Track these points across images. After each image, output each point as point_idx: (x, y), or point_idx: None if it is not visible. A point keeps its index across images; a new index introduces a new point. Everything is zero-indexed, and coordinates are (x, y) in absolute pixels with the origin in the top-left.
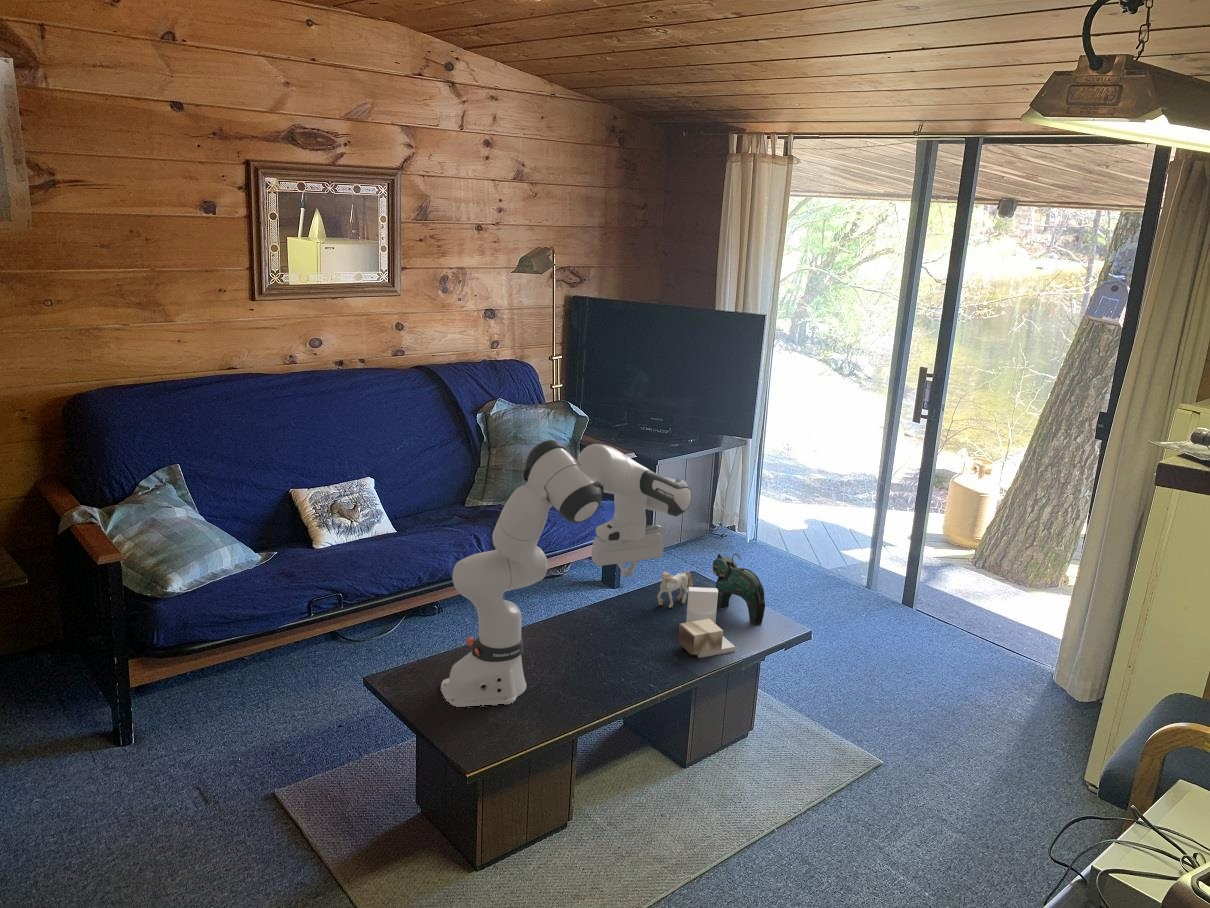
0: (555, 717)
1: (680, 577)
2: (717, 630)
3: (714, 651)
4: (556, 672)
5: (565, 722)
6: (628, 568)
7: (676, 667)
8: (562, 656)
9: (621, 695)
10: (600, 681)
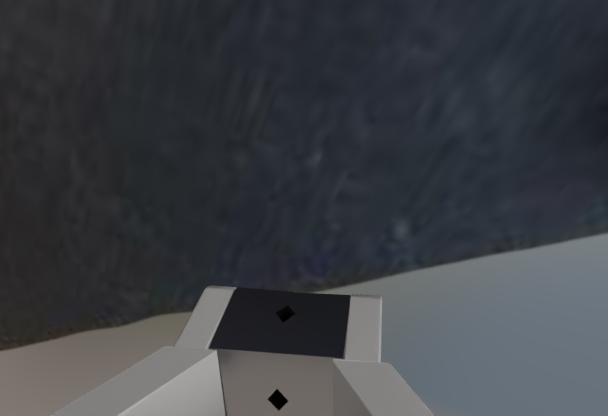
0: (41, 276)
1: None
2: None
3: None
4: (75, 17)
5: (66, 306)
6: (325, 373)
7: (577, 150)
8: None
9: (269, 247)
10: (228, 142)
